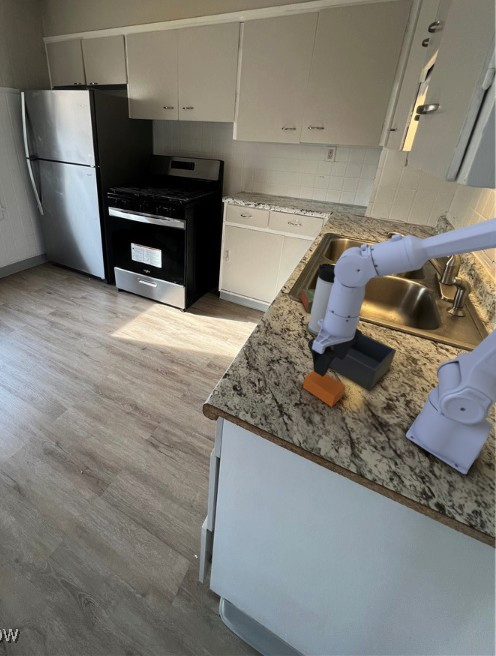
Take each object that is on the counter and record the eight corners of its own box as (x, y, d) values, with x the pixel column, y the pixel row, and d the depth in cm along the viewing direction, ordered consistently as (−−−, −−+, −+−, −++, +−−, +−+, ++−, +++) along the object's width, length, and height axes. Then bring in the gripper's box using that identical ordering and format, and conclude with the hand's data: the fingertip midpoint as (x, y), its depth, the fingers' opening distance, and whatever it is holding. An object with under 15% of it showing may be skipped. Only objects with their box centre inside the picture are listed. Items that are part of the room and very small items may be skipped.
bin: (389, 368, 76) (396, 349, 74) (369, 390, 69) (376, 371, 67) (338, 341, 85) (343, 324, 82) (316, 359, 78) (320, 341, 76)
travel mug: (305, 322, 93) (317, 260, 84) (328, 324, 92) (342, 262, 83) (308, 335, 87) (321, 270, 78) (332, 337, 86) (349, 272, 78)
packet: (342, 396, 68) (345, 385, 66) (331, 407, 65) (334, 396, 64) (313, 377, 72) (316, 367, 71) (302, 387, 70) (304, 377, 68)
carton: (358, 314, 97) (361, 303, 95) (306, 312, 98) (308, 301, 96) (348, 301, 105) (351, 289, 103) (300, 299, 105) (302, 287, 103)
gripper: (342, 290, 67) (329, 341, 72) (303, 313, 58) (292, 369, 64) (375, 303, 62) (359, 357, 68) (339, 331, 53) (323, 390, 59)
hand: (329, 364), depth 65 cm, fingers open, 7 cm apart
